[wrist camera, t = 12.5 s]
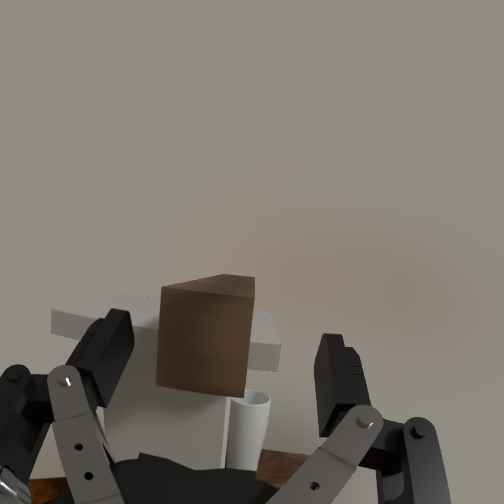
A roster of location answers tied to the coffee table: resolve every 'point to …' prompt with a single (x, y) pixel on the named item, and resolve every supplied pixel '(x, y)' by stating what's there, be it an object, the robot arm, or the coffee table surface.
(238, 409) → the drinking glass
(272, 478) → the coffee table surface
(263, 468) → the coffee table surface
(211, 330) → the walnut bar
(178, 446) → the shelf stand
